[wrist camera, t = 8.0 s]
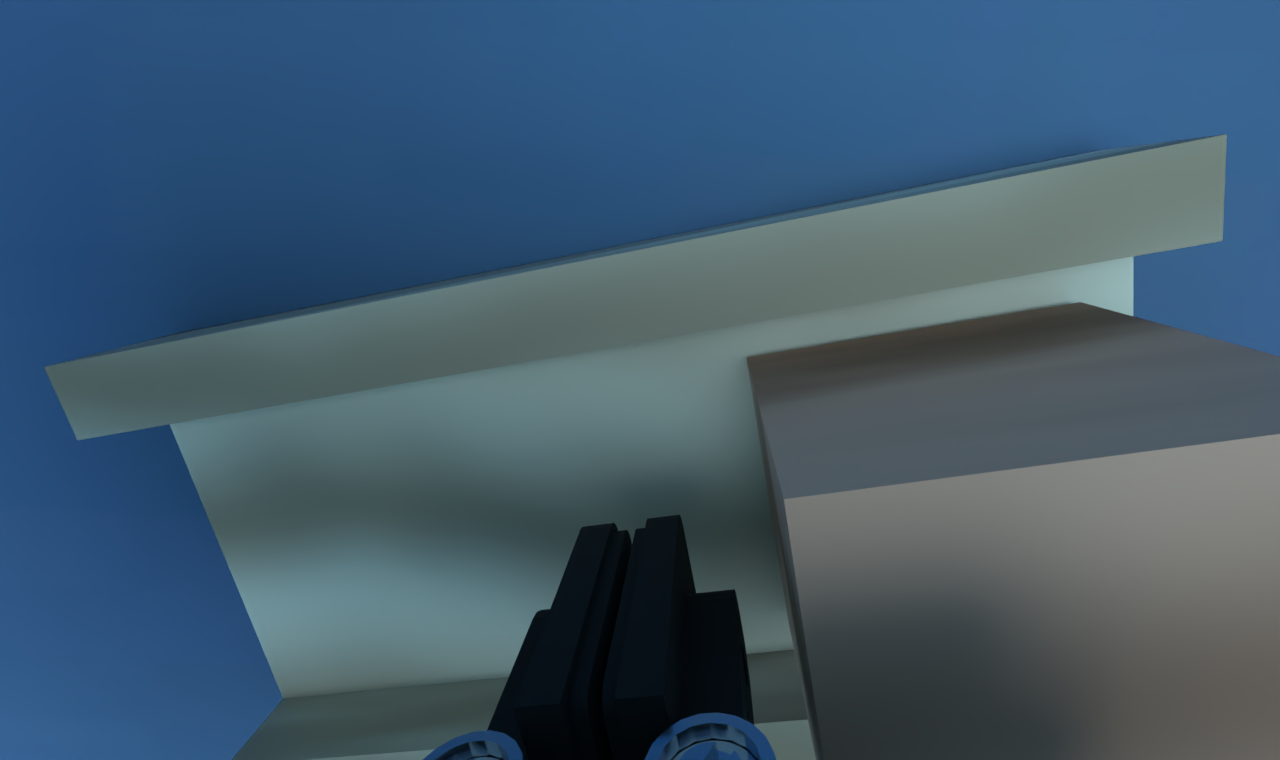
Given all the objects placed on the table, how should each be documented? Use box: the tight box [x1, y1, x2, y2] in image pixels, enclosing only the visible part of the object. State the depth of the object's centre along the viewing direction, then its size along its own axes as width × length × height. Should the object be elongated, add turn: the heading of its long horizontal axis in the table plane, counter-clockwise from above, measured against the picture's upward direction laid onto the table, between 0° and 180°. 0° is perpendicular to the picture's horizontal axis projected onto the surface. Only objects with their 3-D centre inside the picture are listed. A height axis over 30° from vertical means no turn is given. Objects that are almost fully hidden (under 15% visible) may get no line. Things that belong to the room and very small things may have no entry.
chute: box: [44, 134, 1227, 760], centre depth 13 cm, size 11×20×3 cm, turn 101°
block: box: [747, 302, 1280, 760], centre depth 10 cm, size 6×6×6 cm
